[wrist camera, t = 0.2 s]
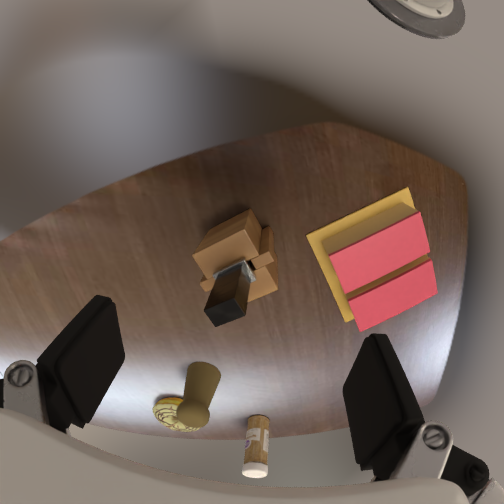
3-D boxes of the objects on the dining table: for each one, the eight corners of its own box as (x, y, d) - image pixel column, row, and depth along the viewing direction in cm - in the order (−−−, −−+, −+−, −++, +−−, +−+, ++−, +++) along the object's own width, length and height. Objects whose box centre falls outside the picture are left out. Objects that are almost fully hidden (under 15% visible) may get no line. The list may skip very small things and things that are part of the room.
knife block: (202, 232, 36) (183, 259, 28) (258, 204, 34) (253, 224, 26) (230, 278, 38) (220, 314, 30) (284, 253, 36) (287, 285, 28)
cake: (305, 234, 35) (311, 250, 30) (406, 186, 31) (426, 194, 26) (344, 321, 39) (352, 344, 34) (430, 278, 36) (447, 296, 31)
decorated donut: (147, 403, 51) (142, 416, 48) (172, 387, 48) (167, 401, 44) (185, 426, 53) (181, 439, 50) (214, 413, 50) (211, 427, 47)
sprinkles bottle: (250, 412, 49) (244, 469, 37) (272, 416, 49) (270, 472, 37) (245, 423, 51) (239, 476, 38) (266, 426, 51) (263, 479, 39)
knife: (226, 241, 36) (197, 309, 21) (251, 229, 35) (236, 292, 21) (235, 256, 37) (213, 331, 22) (260, 245, 36) (252, 316, 21)
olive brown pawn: (227, 373, 45) (218, 424, 35) (209, 388, 47) (198, 436, 37) (197, 356, 44) (181, 406, 34) (181, 373, 46) (164, 420, 36)
